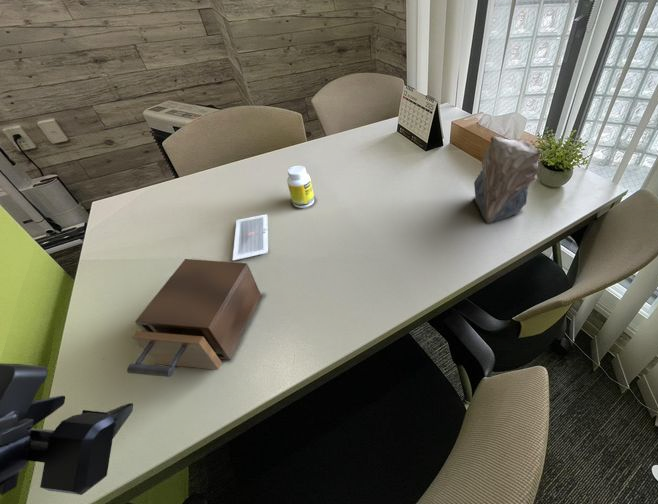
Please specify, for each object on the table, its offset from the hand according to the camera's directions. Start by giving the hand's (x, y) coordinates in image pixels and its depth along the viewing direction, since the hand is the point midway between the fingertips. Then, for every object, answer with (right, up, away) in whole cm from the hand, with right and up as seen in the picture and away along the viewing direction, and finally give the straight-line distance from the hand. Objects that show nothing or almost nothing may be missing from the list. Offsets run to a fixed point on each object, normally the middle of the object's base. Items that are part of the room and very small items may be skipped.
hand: (97, 403), depth 41 cm
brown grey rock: (+64, +23, +51) cm, 86 cm away
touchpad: (0, +16, +42) cm, 45 cm away
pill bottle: (+10, +25, +54) cm, 60 cm away
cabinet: (+2, +1, +24) cm, 24 cm away
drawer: (+1, -1, +19) cm, 19 cm away
